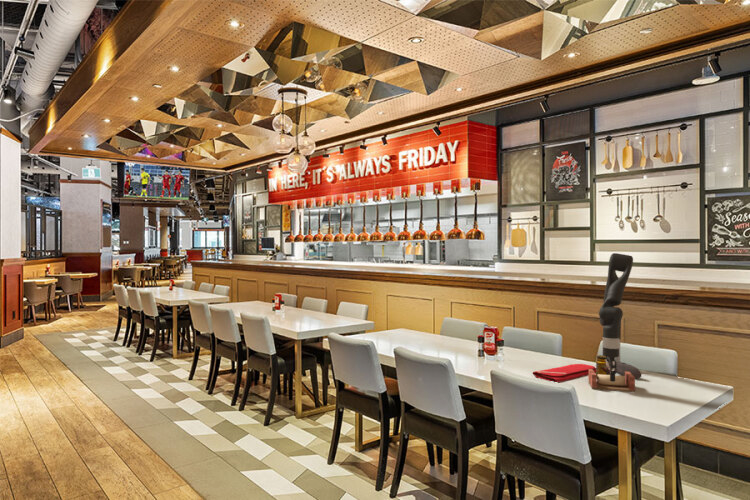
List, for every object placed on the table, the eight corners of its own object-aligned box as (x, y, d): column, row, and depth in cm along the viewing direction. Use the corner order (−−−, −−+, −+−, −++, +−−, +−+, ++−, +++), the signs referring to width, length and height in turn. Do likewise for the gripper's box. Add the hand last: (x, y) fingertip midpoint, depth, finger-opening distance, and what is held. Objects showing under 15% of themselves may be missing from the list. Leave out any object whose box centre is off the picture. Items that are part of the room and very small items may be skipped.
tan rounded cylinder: (623, 384, 239) (623, 374, 239) (625, 387, 234) (625, 377, 234) (596, 382, 242) (596, 373, 242) (598, 385, 238) (598, 375, 238)
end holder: (588, 382, 247) (588, 369, 247) (629, 385, 241) (629, 371, 241) (592, 389, 235) (592, 374, 235) (635, 392, 230) (634, 377, 230)
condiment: (608, 381, 250) (608, 358, 250) (591, 378, 254) (591, 356, 254) (609, 377, 256) (609, 355, 256) (592, 375, 260) (592, 353, 260)
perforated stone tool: (644, 380, 252) (644, 366, 252) (637, 381, 250) (637, 367, 250) (620, 373, 266) (620, 360, 266) (613, 374, 264) (613, 361, 264)
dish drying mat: (601, 372, 269) (601, 366, 269) (557, 384, 246) (557, 376, 246) (576, 367, 282) (576, 360, 282) (531, 377, 259) (531, 370, 259)
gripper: (622, 349, 230) (622, 383, 230) (616, 344, 244) (616, 376, 244) (605, 348, 233) (605, 382, 233) (600, 343, 246) (600, 374, 246)
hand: (610, 379), depth 238 cm, fingers open, 8 cm apart
